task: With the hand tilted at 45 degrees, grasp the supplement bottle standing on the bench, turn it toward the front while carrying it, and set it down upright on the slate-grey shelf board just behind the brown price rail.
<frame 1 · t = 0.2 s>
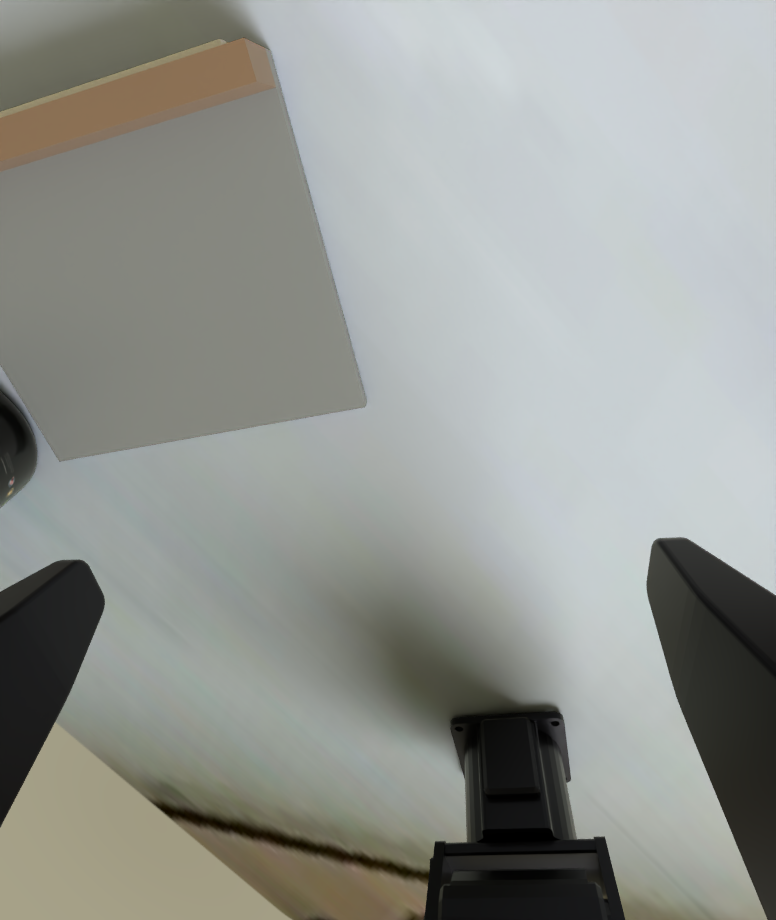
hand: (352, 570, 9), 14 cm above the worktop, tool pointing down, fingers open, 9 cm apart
shelf board: (148, 293, 21), on the worktop
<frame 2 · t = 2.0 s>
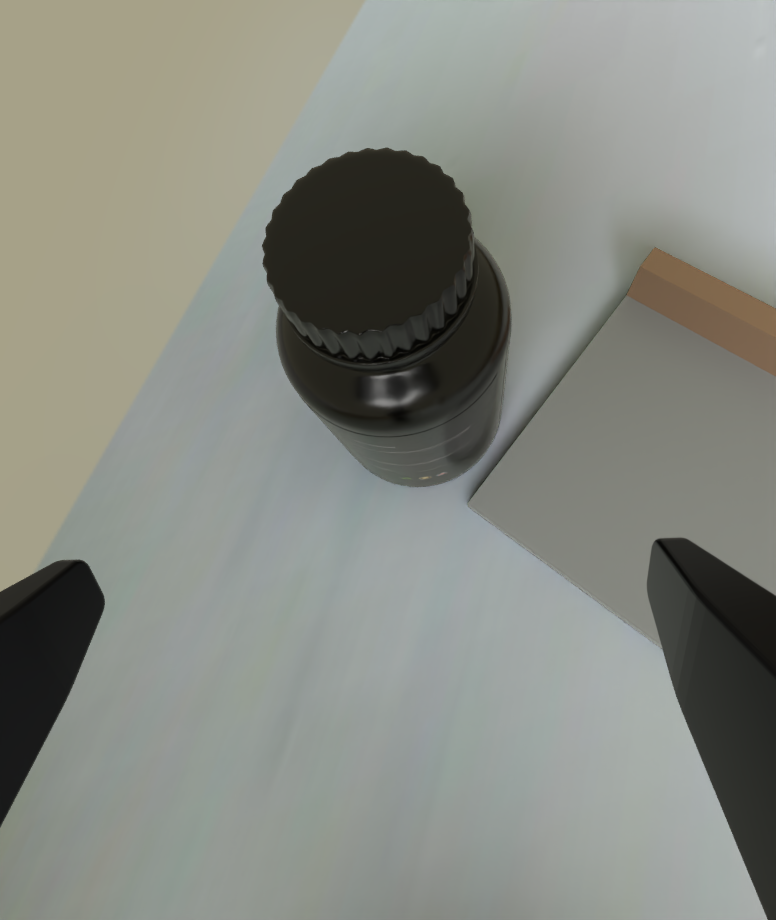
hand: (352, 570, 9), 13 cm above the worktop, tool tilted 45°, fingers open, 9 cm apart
shelf board: (718, 495, 21), on the worktop
supplement bottle: (420, 415, 24), on the worktop
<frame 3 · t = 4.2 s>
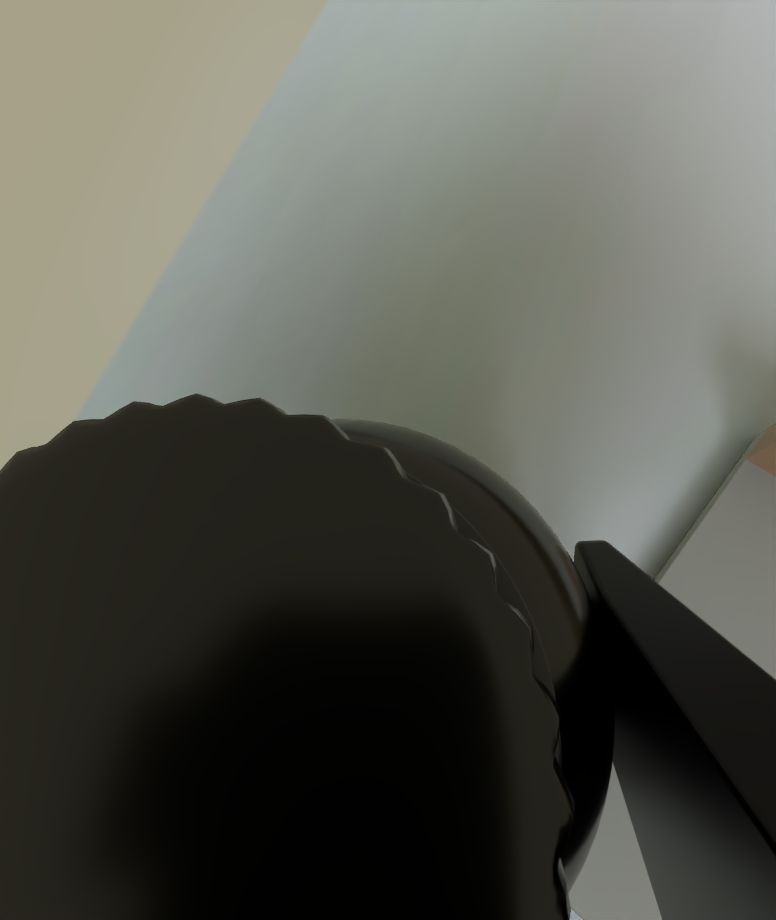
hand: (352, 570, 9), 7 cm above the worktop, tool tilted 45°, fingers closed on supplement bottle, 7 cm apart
supplement bottle: (407, 640, 15), on the worktop, touching gripper
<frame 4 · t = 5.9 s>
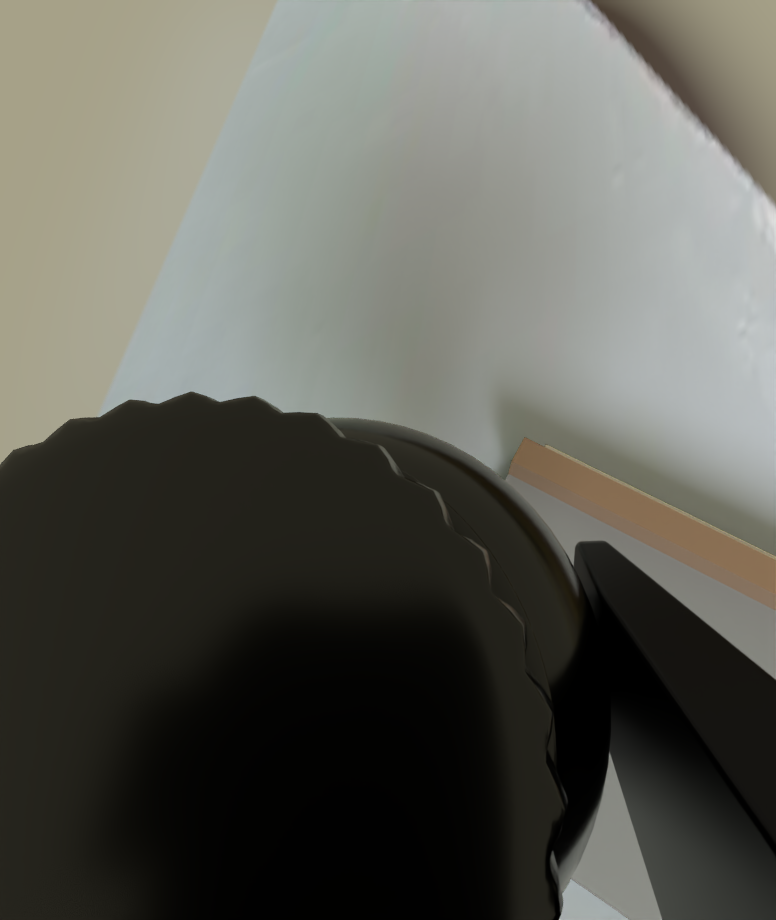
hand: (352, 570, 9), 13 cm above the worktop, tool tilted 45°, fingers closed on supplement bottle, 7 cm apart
shelf board: (626, 694, 19), on the worktop
supplement bottle: (407, 638, 15), point 6 cm above the worktop, touching gripper
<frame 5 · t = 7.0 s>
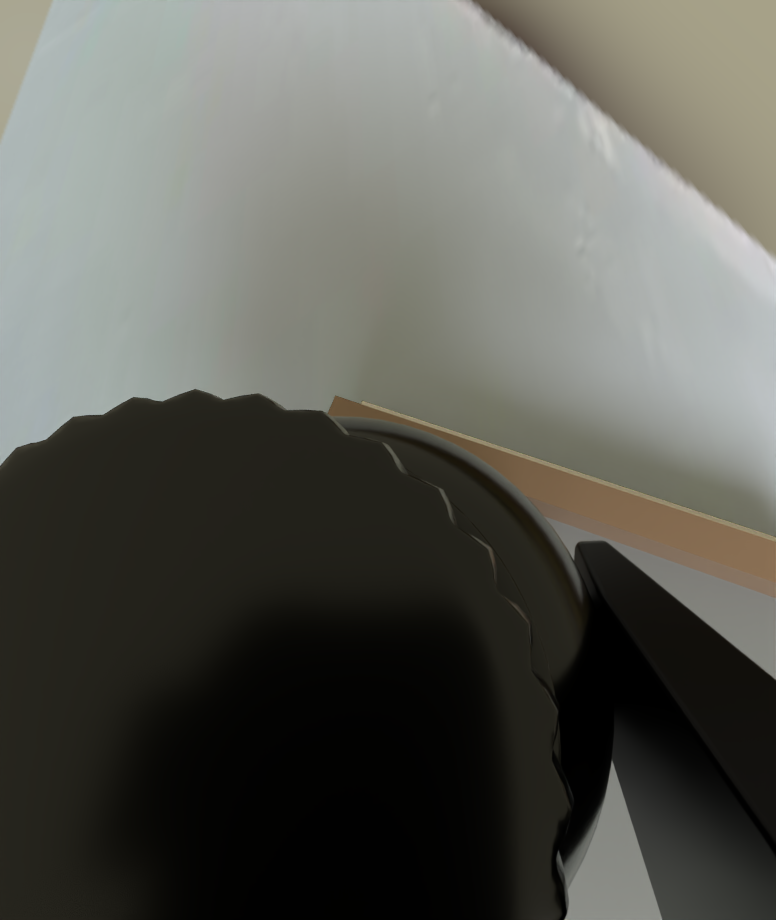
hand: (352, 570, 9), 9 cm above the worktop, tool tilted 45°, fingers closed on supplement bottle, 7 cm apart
shelf board: (495, 676, 16), on the worktop
supplement bottle: (408, 637, 15), point 2 cm above the worktop, touching gripper
when the fingers open (8 cm above the worktop, at t = 7.7 s): supplement bottle stays where it is, resting on shelf board.
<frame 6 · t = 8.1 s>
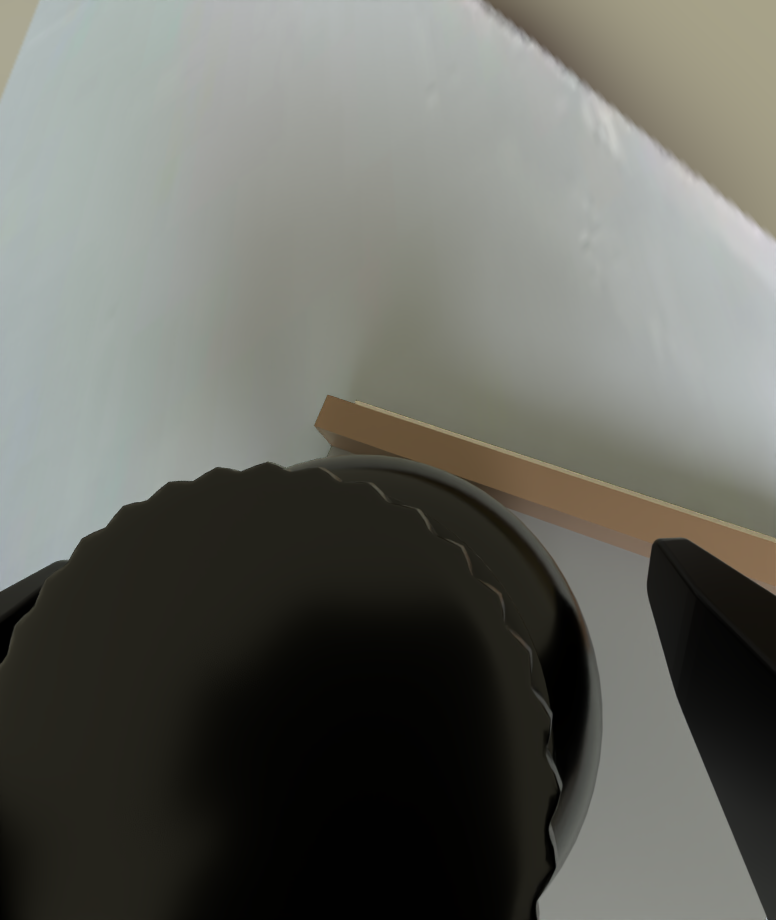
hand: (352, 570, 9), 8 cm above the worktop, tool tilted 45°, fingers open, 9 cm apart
shelf board: (497, 692, 15), on the worktop
supplement bottle: (416, 644, 16), resting on shelf board
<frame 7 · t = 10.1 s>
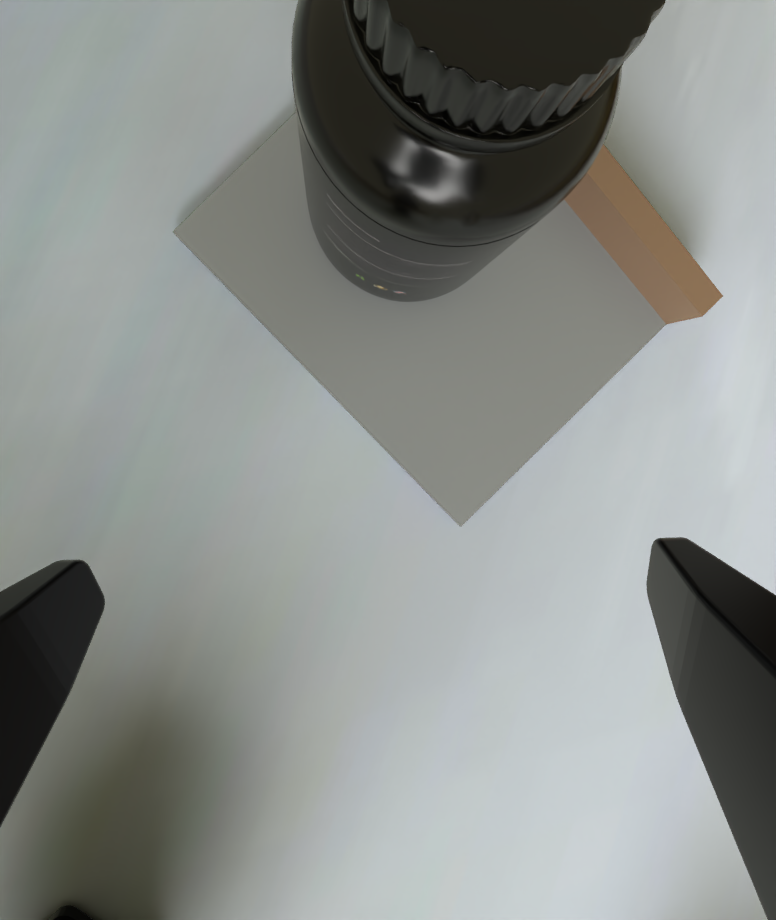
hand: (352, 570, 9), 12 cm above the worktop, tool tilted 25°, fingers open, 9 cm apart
shelf board: (441, 274, 20), on the worktop
supplement bottle: (402, 210, 19), resting on shelf board
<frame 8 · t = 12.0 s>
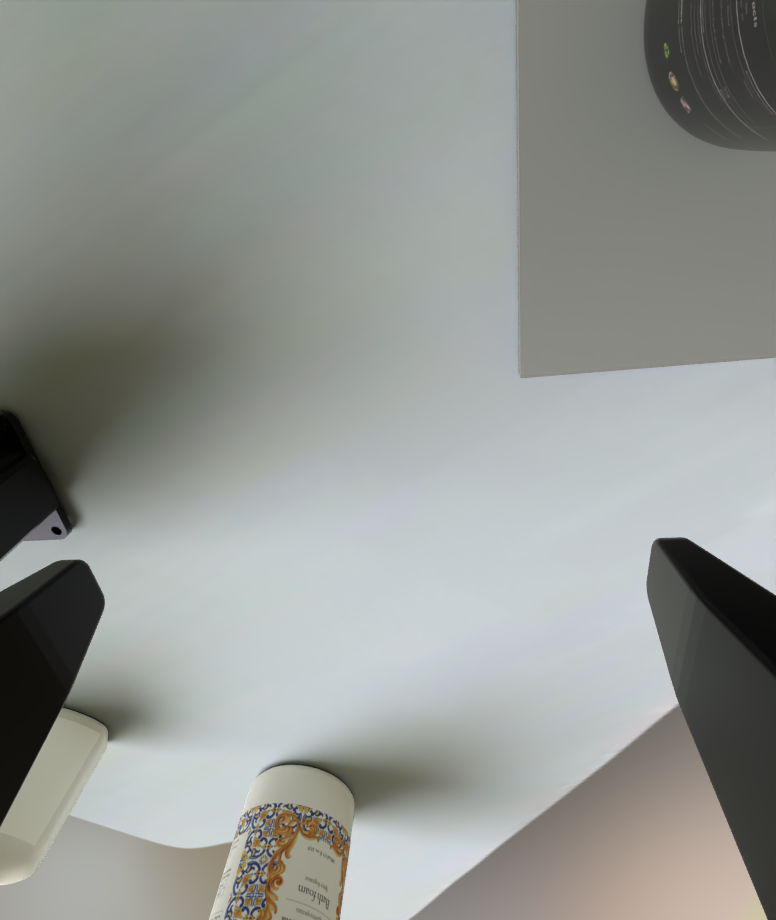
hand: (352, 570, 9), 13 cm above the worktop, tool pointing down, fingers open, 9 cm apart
shelf board: (728, 118, 16), on the worktop
supplement bottle: (769, 0, 14), resting on shelf board
eye dropper bottle: (69, 720, 35), on the worktop
bath foam: (304, 788, 36), on the worktop
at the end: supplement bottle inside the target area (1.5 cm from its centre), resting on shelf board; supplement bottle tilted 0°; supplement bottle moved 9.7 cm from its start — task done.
